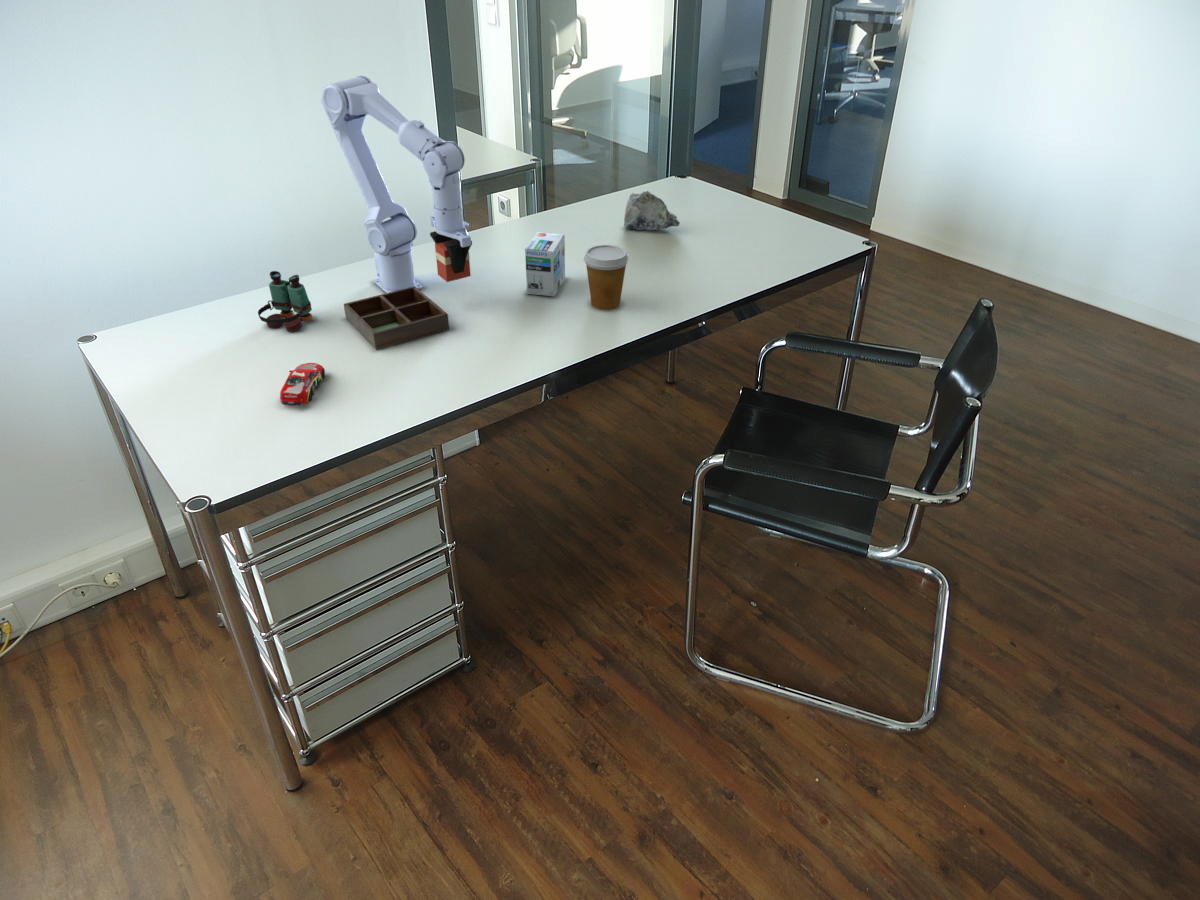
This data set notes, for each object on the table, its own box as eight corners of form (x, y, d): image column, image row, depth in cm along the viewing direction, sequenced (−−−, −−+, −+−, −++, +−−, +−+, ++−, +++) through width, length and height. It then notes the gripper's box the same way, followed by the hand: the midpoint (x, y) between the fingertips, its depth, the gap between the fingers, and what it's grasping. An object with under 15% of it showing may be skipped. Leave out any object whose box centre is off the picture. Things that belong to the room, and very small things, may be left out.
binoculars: (242, 289, 170) (272, 265, 177) (257, 334, 176) (286, 309, 184) (280, 296, 167) (309, 271, 174) (294, 341, 174) (322, 316, 181)
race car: (301, 371, 163) (297, 353, 161) (329, 372, 163) (326, 354, 161) (276, 408, 152) (271, 389, 150) (306, 409, 152) (302, 390, 150)
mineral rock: (681, 231, 224) (684, 193, 218) (652, 242, 218) (654, 203, 212) (646, 218, 231) (648, 181, 226) (617, 227, 225) (618, 190, 220)
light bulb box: (554, 297, 191) (554, 251, 184) (525, 294, 192) (523, 248, 185) (566, 278, 199) (565, 233, 193) (538, 275, 200) (536, 231, 194)
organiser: (346, 319, 181) (343, 303, 179) (416, 301, 188) (414, 286, 186) (376, 350, 170) (373, 334, 168) (449, 329, 178) (447, 313, 175)
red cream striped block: (437, 274, 183) (434, 243, 179) (461, 269, 186) (458, 238, 182) (447, 282, 180) (444, 250, 176) (471, 276, 183) (468, 245, 179)
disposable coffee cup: (633, 299, 190) (635, 248, 183) (616, 317, 183) (617, 264, 176) (595, 291, 193) (595, 240, 186) (576, 308, 186) (576, 256, 179)
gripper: (482, 212, 171) (486, 275, 179) (449, 191, 181) (454, 252, 189) (450, 219, 168) (456, 283, 176) (418, 198, 178) (425, 259, 186)
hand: (453, 268), depth 182 cm, fingers closed on red cream striped block, 4 cm apart
